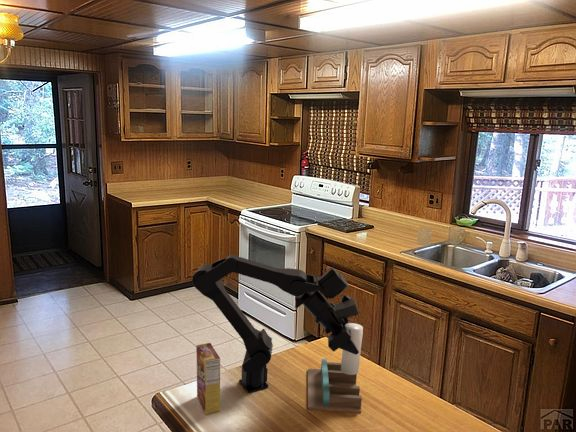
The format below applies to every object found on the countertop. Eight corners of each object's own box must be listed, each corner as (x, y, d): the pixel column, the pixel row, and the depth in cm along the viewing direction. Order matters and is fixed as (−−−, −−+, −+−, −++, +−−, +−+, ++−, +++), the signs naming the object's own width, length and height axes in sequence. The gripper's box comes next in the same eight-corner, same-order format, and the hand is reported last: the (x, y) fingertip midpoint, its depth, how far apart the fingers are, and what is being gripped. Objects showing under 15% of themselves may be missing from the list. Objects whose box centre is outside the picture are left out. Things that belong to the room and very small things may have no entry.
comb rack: (361, 412, 123) (362, 396, 122) (307, 409, 123) (308, 393, 122) (353, 373, 142) (354, 359, 141) (307, 370, 143) (308, 356, 142)
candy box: (195, 396, 126) (195, 344, 123) (210, 393, 128) (211, 341, 125) (203, 415, 118) (204, 360, 115) (220, 412, 120) (221, 357, 117)
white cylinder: (348, 376, 128) (352, 332, 125) (337, 367, 132) (341, 324, 130) (362, 372, 131) (366, 329, 128) (351, 364, 135) (355, 321, 132)
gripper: (345, 303, 118) (384, 347, 120) (340, 279, 136) (374, 317, 138) (312, 329, 120) (351, 372, 121) (311, 302, 138) (345, 340, 140)
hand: (356, 348), depth 130 cm, fingers closed on white cylinder, 5 cm apart
